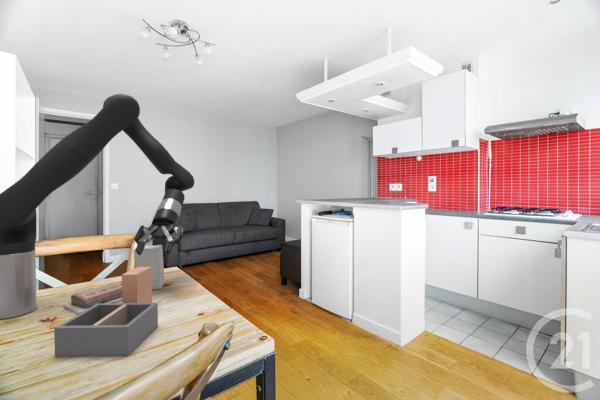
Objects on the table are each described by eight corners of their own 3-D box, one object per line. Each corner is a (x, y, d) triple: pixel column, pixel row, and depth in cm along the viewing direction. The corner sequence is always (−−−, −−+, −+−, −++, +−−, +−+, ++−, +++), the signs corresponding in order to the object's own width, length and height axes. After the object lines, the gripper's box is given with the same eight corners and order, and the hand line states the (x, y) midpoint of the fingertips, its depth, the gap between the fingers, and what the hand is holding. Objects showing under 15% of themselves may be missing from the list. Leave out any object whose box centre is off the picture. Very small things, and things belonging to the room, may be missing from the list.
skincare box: (164, 284, 105) (164, 244, 105) (160, 289, 99) (159, 247, 99) (139, 285, 103) (139, 245, 103) (134, 291, 97) (133, 248, 97)
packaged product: (124, 277, 99) (141, 281, 94) (124, 291, 99) (142, 296, 94) (61, 293, 83) (79, 299, 78) (61, 310, 83) (79, 317, 78)
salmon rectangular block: (122, 318, 76) (121, 274, 76) (138, 306, 84) (137, 266, 84) (137, 318, 76) (136, 274, 76) (152, 306, 84) (151, 266, 84)
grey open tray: (54, 356, 59) (54, 328, 59) (97, 326, 72) (97, 303, 72) (128, 355, 59) (128, 327, 59) (157, 326, 72) (157, 302, 72)
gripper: (143, 207, 97) (124, 247, 86) (185, 207, 97) (171, 246, 86) (151, 221, 102) (134, 260, 91) (190, 221, 103) (178, 260, 92)
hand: (152, 253), depth 89 cm, fingers open, 8 cm apart
